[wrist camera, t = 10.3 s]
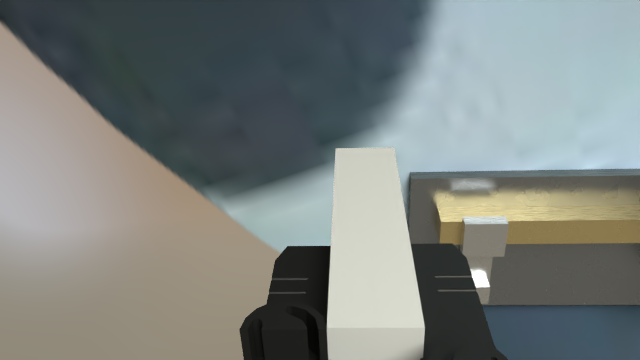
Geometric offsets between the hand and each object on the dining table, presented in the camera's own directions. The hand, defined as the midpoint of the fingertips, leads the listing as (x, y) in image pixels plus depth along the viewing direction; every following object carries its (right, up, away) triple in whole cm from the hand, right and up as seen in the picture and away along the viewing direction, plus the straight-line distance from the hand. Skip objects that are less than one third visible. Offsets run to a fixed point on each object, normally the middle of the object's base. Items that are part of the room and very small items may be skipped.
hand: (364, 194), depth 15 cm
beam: (+20, -4, +28) cm, 35 cm away
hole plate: (+20, -4, +29) cm, 35 cm away
